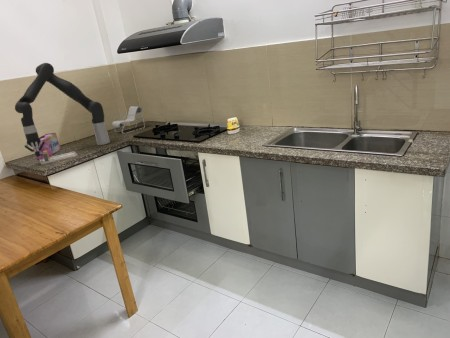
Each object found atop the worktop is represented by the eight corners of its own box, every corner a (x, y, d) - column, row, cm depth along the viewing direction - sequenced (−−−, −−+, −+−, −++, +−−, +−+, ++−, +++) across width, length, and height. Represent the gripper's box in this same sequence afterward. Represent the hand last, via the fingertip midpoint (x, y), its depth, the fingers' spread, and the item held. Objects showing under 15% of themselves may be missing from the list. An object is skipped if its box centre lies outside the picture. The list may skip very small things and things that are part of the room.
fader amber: (48, 157, 253) (46, 150, 251) (49, 158, 250) (47, 151, 248) (45, 158, 252) (43, 151, 250) (45, 159, 249) (43, 152, 247)
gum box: (46, 158, 256) (40, 140, 251) (35, 159, 256) (30, 141, 252) (60, 149, 278) (56, 132, 274) (51, 150, 279) (46, 133, 274)
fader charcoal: (48, 159, 247) (46, 152, 246) (48, 160, 244) (46, 153, 243) (44, 160, 246) (42, 153, 244) (45, 161, 243) (42, 154, 241)
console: (74, 152, 263) (74, 150, 262) (77, 155, 253) (77, 153, 252) (39, 160, 252) (39, 158, 251) (41, 164, 242) (40, 162, 241)
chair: (145, 127, 320) (141, 106, 313) (121, 134, 304) (116, 112, 297) (138, 126, 329) (134, 105, 323) (113, 133, 313) (109, 111, 307)
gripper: (41, 129, 242) (48, 153, 248) (19, 133, 236) (27, 157, 242) (41, 130, 236) (49, 155, 242) (19, 135, 230) (28, 160, 236)
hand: (38, 156), depth 242 cm, fingers closed
